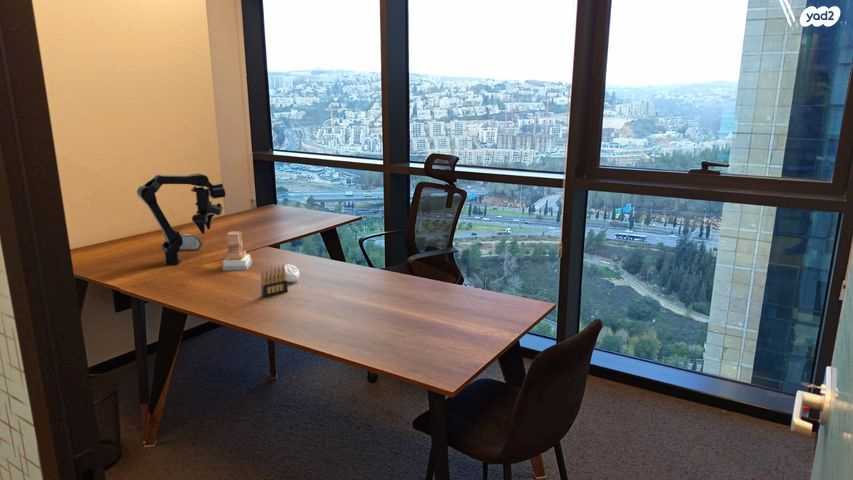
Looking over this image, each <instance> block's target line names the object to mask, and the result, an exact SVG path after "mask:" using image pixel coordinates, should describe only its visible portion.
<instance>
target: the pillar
mask: <svg viewBox="0 0 853 480" xmlns="http://www.w3.org/2000/svg"><path fill="white" fill-rule="evenodd" d="M242 233H243V232H242V230H241V231H240V230H239V231H237V230H236V231H235V230H234V231H232V230H231V231H229V232H228V233H226V236H227V238H226V239H227V248H228V250H227V251H228V252H227V253H225V258H226V260H242V259H243V258H244V257H245V256H246V254H247V251H246V250H243V246H244V245H243V237H242Z"/></svg>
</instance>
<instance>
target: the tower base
mask: <svg viewBox="0 0 853 480" xmlns="http://www.w3.org/2000/svg"><path fill="white" fill-rule="evenodd" d="M252 263H253V259H252V258H250V261H249V262H248V263H247V265H246V266H224V265H223V264H222V267H221V269H222V271H247V270H248V269H249V268H250V267H251V265H252Z"/></svg>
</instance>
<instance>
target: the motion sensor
mask: <svg viewBox="0 0 853 480" xmlns="http://www.w3.org/2000/svg"><path fill="white" fill-rule="evenodd" d="M284 267H285V273H286V280H287V283H293V282H296V281H298V279H299V277H300V274H301V273H300V271H299V269H298V267H296V266H295V265H293V264H285V265H284ZM281 274H282V269H281Z"/></svg>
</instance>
